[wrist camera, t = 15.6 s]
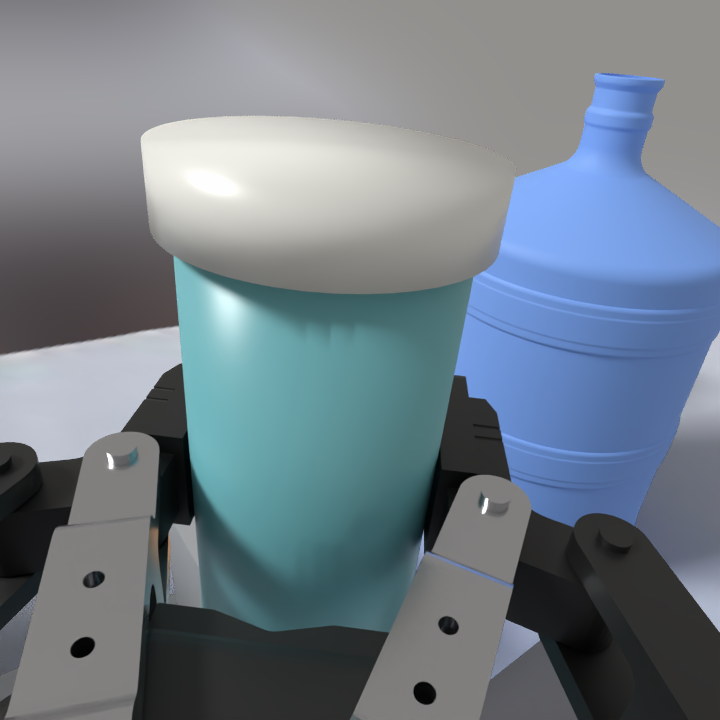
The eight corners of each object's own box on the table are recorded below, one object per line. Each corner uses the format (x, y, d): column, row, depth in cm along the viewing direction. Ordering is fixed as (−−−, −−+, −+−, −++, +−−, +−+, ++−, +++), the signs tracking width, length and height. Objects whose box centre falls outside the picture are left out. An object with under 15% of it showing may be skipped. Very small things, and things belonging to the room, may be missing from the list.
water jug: (668, 598, 36) (922, 109, 22) (416, 590, 35) (509, 77, 21) (579, 440, 49) (700, 75, 35) (397, 432, 48) (445, 55, 34)
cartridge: (169, 658, 16) (97, 116, 9) (332, 577, 19) (375, 115, 12) (252, 862, 12) (240, 212, 5) (440, 724, 15) (597, 178, 8)
